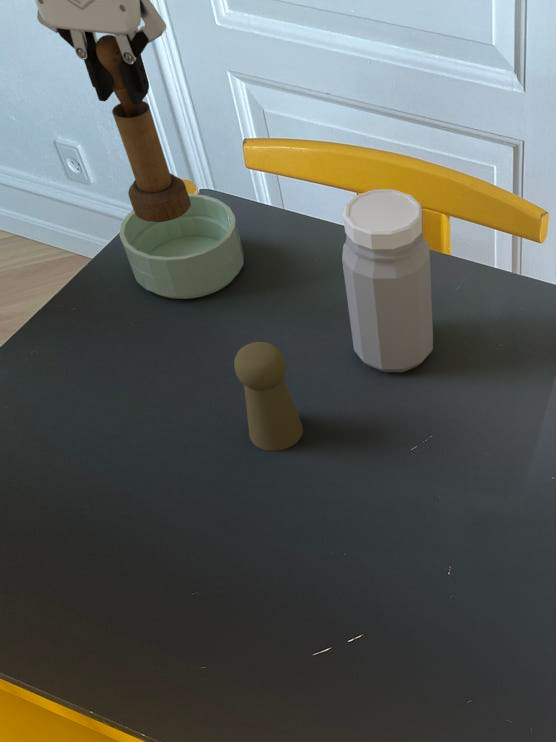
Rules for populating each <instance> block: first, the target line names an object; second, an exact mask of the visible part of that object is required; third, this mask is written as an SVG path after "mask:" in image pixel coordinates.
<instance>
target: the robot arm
mask: <svg viewBox="0 0 556 742" xmlns="http://www.w3.org/2000/svg"><path fill="white" fill-rule="evenodd" d="M34 1H35V4H36V7H37V14H36V16H37V17H36V18H37V21H38V22H39V23H40V24H41V25H42V26H44V27H46V28H47V29H49V30H51V31H52V32H54V33H56V34H58V35H59V36H60V37H61V38H62V39H63V40H64V41H65V42H66V43H67V44H68V45H69V46H71V47H72V48H73V49H74V52H75V54H76V56H77V57H78V58H79V59H80V60H83V62H84V65H85V67H86V71H87V74H88V77H89V80H90V84H91V85H92V87H93V89H95V92H96V95H97V98H98V101H99V102H106V101H108V99H109V98H110V97H111V96H112V94H113V93H114V91H113V89H112V85H113V84H114V79H113V77H112V75H111V73H110V72H109V71H108V70H107V69H106V68H105V67H104V66H103V65H102V64H101V62H100V61H99V59H98V57H97V54H96V43H97V41H98V37H97V34H96V33H100V34H107V35H113V36H115V38H116V40H117V43H118V46H119V48H120V51H121V54H122V56H123V59H124V61H123V62H122V63H121V70H122V73H123V77H124V80H125V83H126V87H127V90H128V94H129V97H130V100H131V102H132V103H133V104H135V105H139V104H140V103H141V101H144V99H145V98H146V96H147V95H148V93H149V89H150V81H149V79H148V75H147V71H146V68H145V64H144V60H143V57H142V53H143V52H144V51H145V49H146V47H147V46H148V44H149V43H152V42H153V41H155V40H156V39H158V38H160V37H161V36H162V35H163V34H164V33H165V32H166V30H167V28H168V27H167V24H166V22H165V21H164V19H163V18H162V16H161V14H159V12H158V10H157V9H156V7H155V6H154V4H153V3H152V1H151V0H34ZM142 21H143V23H144V25H143V26H141V27H140V28H138V27H139V26H140V25H141V23H142Z"/></svg>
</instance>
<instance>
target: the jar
mask: <svg viewBox="0 0 556 742" xmlns="http://www.w3.org/2000/svg"><path fill="white" fill-rule="evenodd" d="M422 209H423V207H422V204H421V203H420V202H419V201H418V200H417V199H416V198H415V197H414V196H413V195H411V194H408V193H405V192H402V191H399V190H396V189H372V190H369V191H366V192H365V191H364V192H362V193H359V194H356V195H355V196H353V197H352V198H351V199H350V200H349V201H347V203H346V204H344V207H343V215H342V216H343V217H342V220H343V226H344V234H346V237H345V242H344V244H343V246H342V255H341V261H342V271H343V276H344V284H345V292H346V299H347V306H348V307H347V308H348V314H349V315H348V316H349V323H350V328H351V329H350V330H351V338H352V346H353V351H354V352H355V354H356V355H357V356H358V357H359V359H360V360H361V361H362V362H363V363H364V365H365V364H366V365H367V366H368V367H370V368H372V369H375V370H377V371H381V372H383V373H403V372H407V371H409V370H411V369H414V368H417V367H418V366H419V365H421V364H422V363H423V362H424V361H425V360H426V358H427V357H428V356H429V355H430V354H431V353H432V351H433V350H434V330H433V303H432V302H433V301H432V279H431V278H432V277H431V252H430V250H431V249H430V244H429V243H428V242H427V241H426V239H424V229H423V210H422Z"/></svg>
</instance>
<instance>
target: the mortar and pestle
mask: <svg viewBox="0 0 556 742" xmlns="http://www.w3.org/2000/svg"><path fill="white" fill-rule="evenodd" d="M96 54H97V57H98V59H99V61H100V62H101V64H102V65H103V66H104V67H105V68H106V69H107V70H108V71H109V72H110V73H111V75H112V77H113V79H114V84H113V85H112V89H113V91H114V92H113V93H114V95H115V96H116V98H117V100H118V101H119V103H118V104H116V105H115V106H113V108H112V110H111V113H112V116H113V119H114V122H115V125H116V128H117V129H118V134H119V136H120V139H121V142H122V145H123V147H124V150H125V154H126V156H127V159H128V163H129V165H130V168H131V171H132V174H133V177H134V181H133V182H132V184H131V185H130V186H129V189H128V191H127V193H128V199H129V201H130V205H131V207H132V211H133V210H134V212H135V214H136V216H137V217H139V218H140V219H142V220H145V221H153V222H165V221H169V220H173V219H176V218H178V217H180V216H182V215H183V214H185V213H186V212H187V211H188V209H189V208H190V204H191V203H190V199H189V196H188V189H187V187H186V184H185V182H184V180H183V179H181V177H178V176H175V174H173V173H170V170H169V166H168V164H167V160H166V157H165V155H164V154H165V153H164V150H163V148H162V145H161V142H160V138H159V134H158V132H157V127H156V125H155V121H154V118H153V115H152V112H151V108H150V105H149V104H148V103H147V102H146V101H144V100H142V101H141V103H140V104H139V105H135V104H133V103H132V102H131V100H130V97H129V94H128V90H127V87H126V83H125V80H124V77H123V73H122V70H121V63H122V62H123V61H124V59H123V56H122V54H121V51H120V48H119V46H118V43H117V40H116V38H115V35H114V34H105V35H102V36H101V37H99V39H98V38H97V43H96Z"/></svg>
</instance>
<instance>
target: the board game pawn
mask: <svg viewBox="0 0 556 742" xmlns="http://www.w3.org/2000/svg"><path fill="white" fill-rule="evenodd" d="M233 365H234V366H233V367H234V372H235V375H236V377H237V378H238V380H239V381H240V383H241V384H242V385H243V388H244V395H245V396H244V397H245V406H246V414H247V417H246V418H247V424H248V434H249V439H250V441H251V443H252V444H253V445H255V446H256V447H257V448H258V449H261V450H264V451H268V452H269V451H270V452H275V451H276V452H277V451H283V450H286V449H288V448H292V447H293V446H295V444H297V443H298V442H299V440H300V439H301V438H302V435H303V433H304V428H303V427H304V426H303V423H302V420H301V419H300V415H299V413H298V410H297V408H296V405H295V403H294V401H293V398H292V395H291V392H290V390H289V388H288V386H287V384H286V383H287V382H286V380H285V379H284V378H285V374H286V370H287V369H286V362H285V357H284V356H283V354H282V352H281V351H280V350H279V349H278V348H277V346H274V345H273V344H271V343H268V342H266V341H265V342H263V341H255V342H251V343H248V344H246V345H244V346H242V347H240V349H239V350H238V351H237V353H236V355H235V358H234V364H233Z"/></svg>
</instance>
